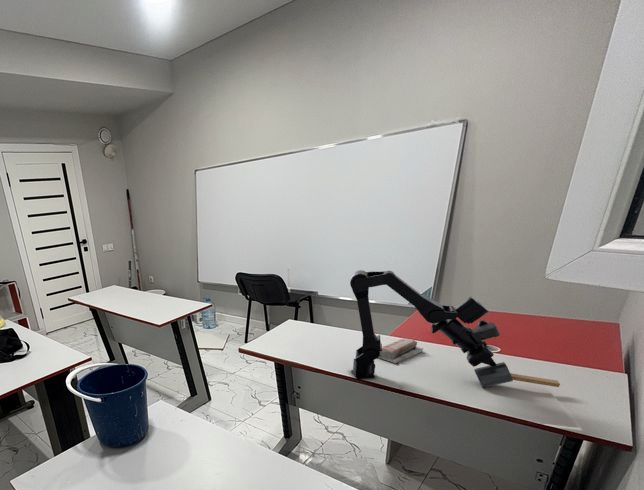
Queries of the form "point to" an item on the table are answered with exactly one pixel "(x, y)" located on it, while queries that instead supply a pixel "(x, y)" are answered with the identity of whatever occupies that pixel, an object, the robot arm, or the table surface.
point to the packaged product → (399, 350)
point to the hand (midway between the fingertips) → (494, 365)
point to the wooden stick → (535, 380)
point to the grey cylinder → (493, 374)
